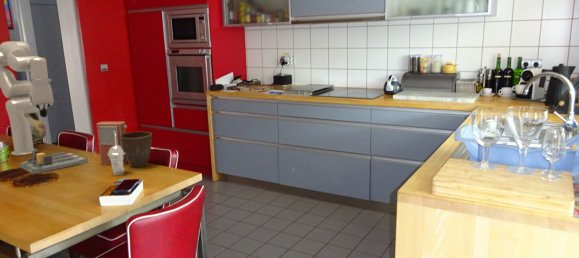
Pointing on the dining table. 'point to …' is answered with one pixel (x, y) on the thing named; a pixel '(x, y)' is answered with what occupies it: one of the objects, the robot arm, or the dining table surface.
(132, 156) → the plant pot
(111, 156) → the cup with straw
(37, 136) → the ceramic jug
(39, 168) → the breaker board
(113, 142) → the control panel
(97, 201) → the dining table surface
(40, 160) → the block
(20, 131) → the robot arm
